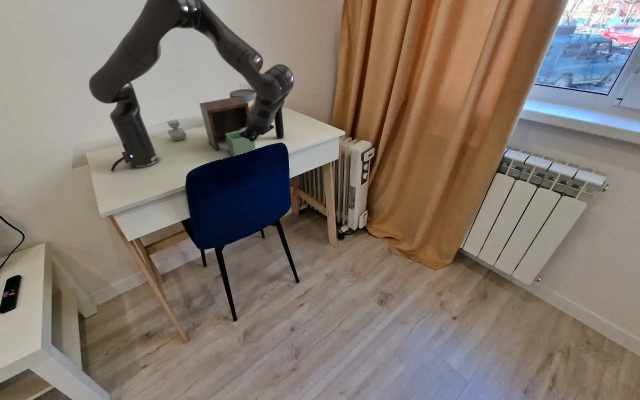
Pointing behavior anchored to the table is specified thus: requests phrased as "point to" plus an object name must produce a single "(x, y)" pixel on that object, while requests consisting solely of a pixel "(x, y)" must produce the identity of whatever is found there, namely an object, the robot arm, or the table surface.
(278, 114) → the microphone
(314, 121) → the table surface
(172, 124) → the stamp
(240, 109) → the cubby
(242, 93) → the reusable coffee cup
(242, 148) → the basket
